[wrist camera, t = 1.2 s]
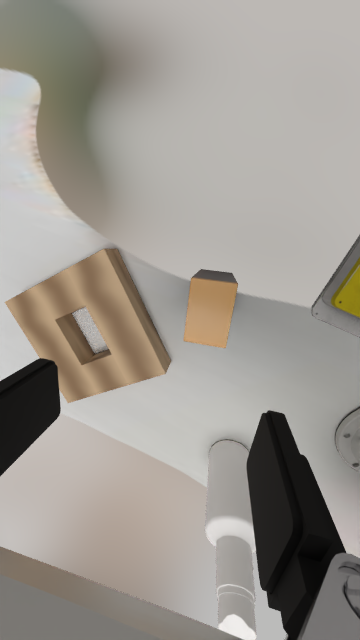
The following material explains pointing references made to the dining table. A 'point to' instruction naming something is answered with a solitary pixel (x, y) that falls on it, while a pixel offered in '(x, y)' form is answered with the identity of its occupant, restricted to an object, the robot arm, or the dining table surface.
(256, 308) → the dining table surface
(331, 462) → the dining table surface
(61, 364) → the socket block
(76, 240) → the dining table surface
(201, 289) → the key peg
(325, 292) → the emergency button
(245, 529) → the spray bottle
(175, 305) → the dining table surface
